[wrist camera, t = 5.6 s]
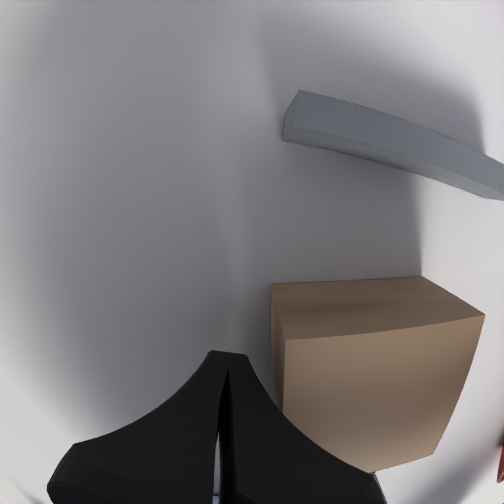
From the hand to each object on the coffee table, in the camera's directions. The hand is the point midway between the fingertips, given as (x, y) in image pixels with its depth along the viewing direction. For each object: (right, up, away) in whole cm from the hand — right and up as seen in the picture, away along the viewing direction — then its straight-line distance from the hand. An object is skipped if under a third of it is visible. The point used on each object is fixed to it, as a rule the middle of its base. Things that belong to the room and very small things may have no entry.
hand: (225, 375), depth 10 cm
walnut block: (+5, 0, +1) cm, 5 cm away
